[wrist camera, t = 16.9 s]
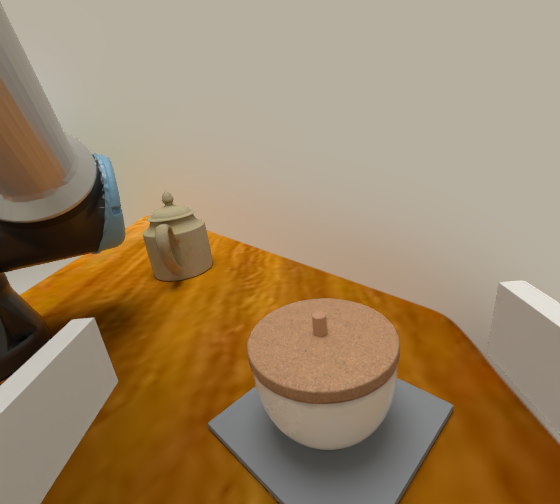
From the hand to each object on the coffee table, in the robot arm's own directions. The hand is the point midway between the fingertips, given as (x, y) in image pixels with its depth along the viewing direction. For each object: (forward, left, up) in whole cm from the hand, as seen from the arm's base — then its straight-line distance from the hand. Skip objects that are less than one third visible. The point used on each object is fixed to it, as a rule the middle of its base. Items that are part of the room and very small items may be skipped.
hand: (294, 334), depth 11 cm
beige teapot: (-46, +17, -16) cm, 52 cm away
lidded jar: (-6, +8, -15) cm, 19 cm away
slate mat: (-6, +8, -16) cm, 19 cm away
